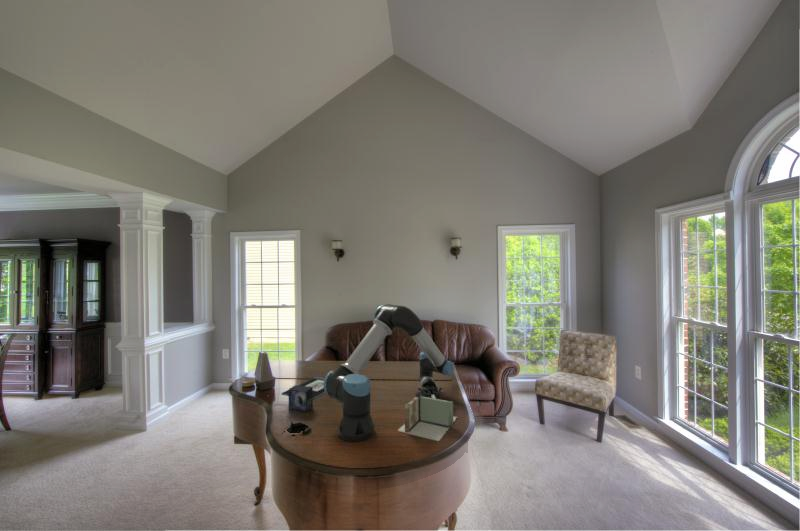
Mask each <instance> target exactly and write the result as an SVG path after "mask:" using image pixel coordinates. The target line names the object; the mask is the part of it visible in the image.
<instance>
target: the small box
mask: <svg viewBox="0 0 800 531" xmlns="http://www.w3.org/2000/svg"><path fill="white" fill-rule="evenodd" d="M299 385H300V384H295V385H293V386H291V387H289V389H288V390H289V396H288V410H290V411H295V410H296V411H297V412H302V411H303V413H307V412H309V411H310V410H311V409H313V408H314V405H313V400H314V399H313V387H307V386H299ZM296 411H295V412H296Z"/></svg>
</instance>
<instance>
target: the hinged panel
mask: <svg viewBox="0 0 800 531" xmlns="http://www.w3.org/2000/svg"><path fill="white" fill-rule="evenodd" d="M420 415H421V420H425V421H430V422H435V423H440V424H445V425H449V426H451V427H453V426H454V423H453V416H454V401H451V400H445V399H441V398H440V399H434V398H428V397H423V396H422V395H421V396H420Z"/></svg>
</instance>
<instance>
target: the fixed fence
mask: <svg viewBox="0 0 800 531" xmlns="http://www.w3.org/2000/svg"><path fill="white" fill-rule="evenodd" d="M414 394H415V397H414V398H413V399H412V400H410V401H409V402H408V403H405V404H404V424H405V432H409V429H410V428H411V427H412V426H413V425H414V424H415V423H416V422H417V421H420V420H421V416H420V397H421V396H422V395H421V392H420V391H418V390H417V391H415V393H414Z"/></svg>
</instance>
